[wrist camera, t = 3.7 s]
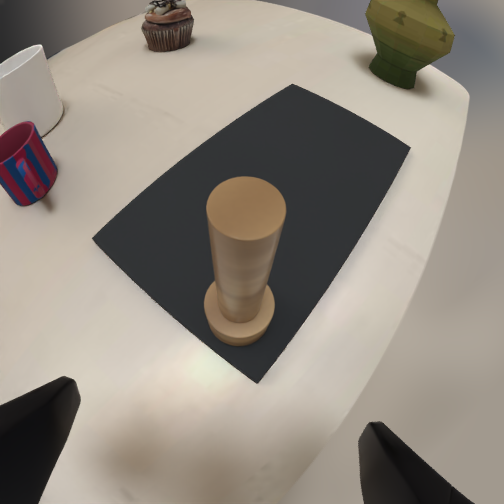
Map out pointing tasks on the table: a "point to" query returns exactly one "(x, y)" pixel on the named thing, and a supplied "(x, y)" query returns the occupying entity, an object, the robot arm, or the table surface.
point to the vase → (406, 38)
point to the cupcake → (167, 25)
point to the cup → (25, 164)
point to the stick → (242, 257)
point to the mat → (295, 225)
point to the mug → (29, 91)
